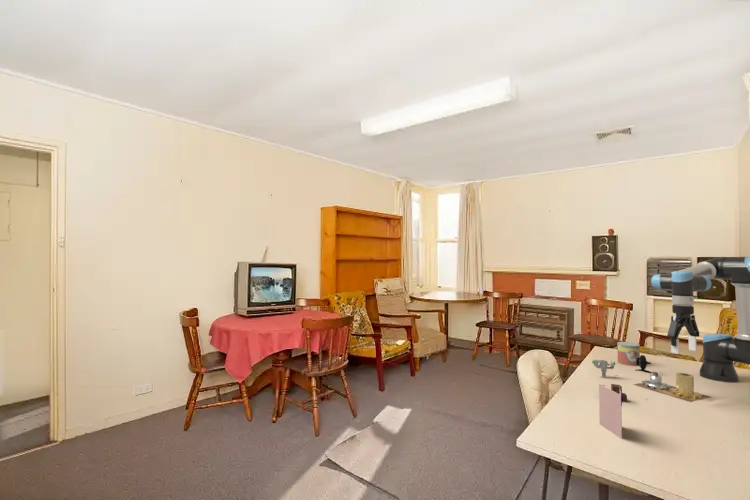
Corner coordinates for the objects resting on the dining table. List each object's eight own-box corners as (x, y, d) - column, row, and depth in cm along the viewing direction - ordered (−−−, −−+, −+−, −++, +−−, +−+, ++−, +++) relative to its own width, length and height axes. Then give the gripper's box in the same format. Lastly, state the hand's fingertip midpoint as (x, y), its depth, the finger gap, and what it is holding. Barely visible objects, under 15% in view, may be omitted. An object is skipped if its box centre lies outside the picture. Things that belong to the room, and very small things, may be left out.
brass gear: (678, 389, 172) (677, 370, 172) (707, 397, 161) (706, 376, 162) (664, 392, 167) (663, 372, 168) (692, 400, 157) (692, 379, 158)
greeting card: (624, 439, 125) (624, 395, 125) (599, 434, 129) (598, 391, 129) (623, 427, 135) (622, 386, 135) (599, 422, 139) (599, 382, 139)
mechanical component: (616, 381, 187) (615, 362, 187) (594, 380, 189) (594, 360, 189) (613, 379, 189) (613, 360, 190) (592, 378, 192) (591, 359, 192)
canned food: (623, 365, 217) (622, 345, 217) (614, 360, 228) (613, 341, 228) (644, 366, 215) (643, 346, 215) (633, 361, 226) (633, 342, 226)
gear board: (652, 383, 184) (652, 366, 184) (711, 400, 162) (711, 381, 162) (632, 387, 178) (632, 370, 178) (690, 405, 156) (690, 385, 156)
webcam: (634, 370, 207) (634, 352, 207) (651, 372, 202) (650, 354, 203) (634, 373, 200) (634, 355, 201) (651, 376, 196) (651, 357, 196)
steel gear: (650, 381, 183) (650, 371, 183) (675, 388, 172) (675, 377, 173) (636, 384, 178) (636, 373, 179) (661, 391, 168) (661, 380, 168)
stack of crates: (631, 397, 167) (631, 382, 167) (639, 408, 153) (639, 392, 153) (593, 392, 173) (593, 377, 173) (598, 402, 159) (598, 387, 160)
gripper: (676, 307, 158) (677, 356, 157) (708, 304, 168) (709, 351, 167) (656, 305, 165) (658, 352, 164) (689, 303, 174) (690, 347, 174)
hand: (684, 351), depth 165 cm, fingers open, 13 cm apart
